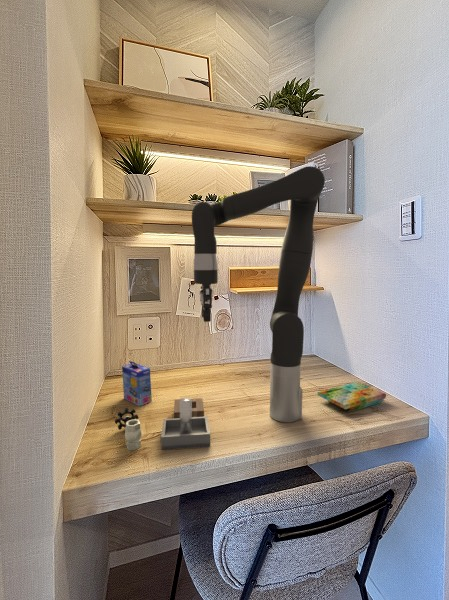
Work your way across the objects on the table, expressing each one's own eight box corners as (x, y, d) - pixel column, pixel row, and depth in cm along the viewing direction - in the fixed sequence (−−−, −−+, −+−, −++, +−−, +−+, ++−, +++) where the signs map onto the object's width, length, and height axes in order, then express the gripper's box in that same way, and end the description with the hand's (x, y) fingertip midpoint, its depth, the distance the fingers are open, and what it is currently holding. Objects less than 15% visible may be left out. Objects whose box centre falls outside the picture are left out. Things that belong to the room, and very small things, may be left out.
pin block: (202, 409, 101) (202, 398, 101) (204, 423, 92) (204, 410, 92) (174, 411, 100) (174, 399, 100) (173, 425, 91) (173, 412, 91)
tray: (207, 427, 90) (207, 416, 90) (210, 446, 80) (210, 433, 80) (163, 430, 88) (163, 419, 88) (161, 450, 79) (161, 437, 78)
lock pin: (191, 431, 86) (191, 397, 85) (191, 437, 83) (192, 402, 82) (179, 431, 86) (179, 397, 84) (179, 438, 82) (179, 402, 81)
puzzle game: (386, 391, 105) (344, 402, 96) (385, 404, 106) (343, 417, 97) (357, 380, 116) (317, 389, 107) (357, 392, 116) (317, 402, 107)
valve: (148, 447, 81) (138, 426, 91) (147, 423, 80) (137, 405, 90) (121, 454, 77) (114, 431, 88) (120, 429, 77) (114, 409, 87)
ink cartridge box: (122, 399, 110) (120, 359, 108) (135, 394, 114) (134, 356, 113) (138, 406, 104) (137, 365, 102) (152, 401, 108) (151, 361, 106)
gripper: (220, 268, 91) (220, 322, 92) (215, 268, 105) (215, 315, 106) (194, 268, 90) (195, 323, 91) (193, 268, 104) (193, 316, 105)
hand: (206, 319), depth 99 cm, fingers open, 8 cm apart
